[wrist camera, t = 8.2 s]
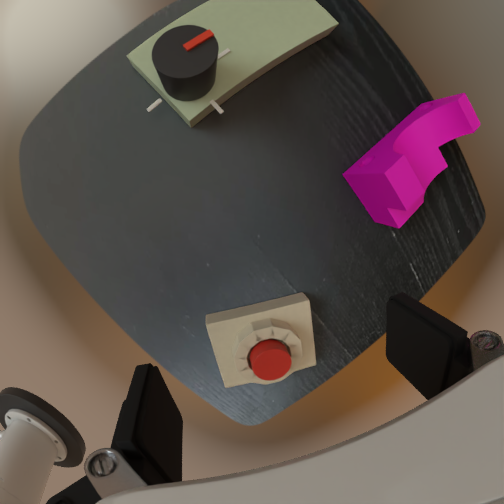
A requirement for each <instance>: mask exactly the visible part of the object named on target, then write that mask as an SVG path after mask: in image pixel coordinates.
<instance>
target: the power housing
mask: <svg viewBox="0 0 504 504" xmlns="http://www.w3.org/2000/svg"><path fill="white" fill-rule="evenodd" d="M206 327H207V330H208V334H209V337H210V340H211V344H212V347H213V350H214V354H215V357H216V360H217V363H218V366H219V370H220V373H221V376H222V379H223V382H224V385H225V388H228V387H233V386H237V385H242V384H246V383H251V382H253V383H259V384H270V383H274V382H278V381H281V380H283V379H285V378H286V377H287V376H289V375H290V374H291V373H293V372H294V371H297V370H300V369H304V368H307V367H310V366H314V365H316V356H315V346H314V336H313V327H312V318H311V309H310V300H309V299H308V298H307V297H306V296H305V294H304V293H303V292H301V293H297V294H293V295H289V296H285V297H281V298H277V299H273V300H269V301H265V302H260V303H256V304H252V305H248V306H243V307H239V308H235V309H230V310H226V311H221V312H217V313H212V314H207V315H206ZM265 340H277V341H279V342H281V343H283V344H284V345H285V347H286V349H287V351H288V353H289V355H290V357H291V360H292V364H291V367H290V369H289V371H288V372H287V373H286V374H285V375H284V376H283V377H281V378H279V379H276V380H271V381H267V380H262V379H260V378H258V377H257V376H256V375H255V374H254V372H253V369H252V366H251V362H250V353H251V351H252V349H253V348H254V347H255V346H256V345H257V344H258V343H260V342H262V341H265Z"/></svg>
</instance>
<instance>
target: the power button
mask: <svg viewBox="0 0 504 504" xmlns="http://www.w3.org/2000/svg"><path fill="white" fill-rule="evenodd" d="M250 362H251V366H252V369H253V372H254V374H255V375H256V376H257V377H258V378H260V379H262V380H267V381H271V380H276V379H279V378H281V377H283V376H284V375H285V374H286V373H287V372H288V371H289V369H290V367H291V364H292V360H291V357H290V355H289V353H288V351H287V349H286V347H285V345H284V344H283V343H281V342H279V341H277V340H265V341H262V342H260V343H258V344H257V345H256V346H255V347H254V348H253V349H252V351H251V353H250Z"/></svg>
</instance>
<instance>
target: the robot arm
mask: <svg viewBox="0 0 504 504" xmlns="http://www.w3.org/2000/svg"><path fill="white" fill-rule="evenodd" d="M467 333H468V332H467V331H466V330H464V329H462V328H461V327H459V326H458V325H456V324H455V323H453V322H451V321H450V320H448V319H447V318H445V317H443V316H442V315H440V314H438V313H437V312H435V311H433V310H432V309H430V308H428V307H426V306H425V305H423V304H422V303H420V302H418V301H417V300H415V299H413V298H412V297H410V296H408V295H407V294H405V293H399V294H396V295H394V296H391V297H390V299H389V301H388V302H387V330H386V357H387V359H388V361H389V362H390V363H391V364H392V365H393V366H394V367H395V368H396V369H397V370H398V371H399V372H400V373H401V374H402V375H403V376H404V377H405V378H406V379H407V380H408V381H409V382H410V383H411V384H412V385H413V386H414V387H415V388H416V389H417V390H418V391H419V392H420V393H421V394H422V395H423V396H424V397H425V398H426V399H427V400H428V401H426V402H424V403H423V404H421V405H419V406H417V407H416V408H414V409H412V410H410V411H408V412H407V413H405V414H403V415H401V416H399V417H397V418H395V419H393V420H391V421H389V422H387V423H385V424H383V425H381V426H379V427H376V428H374V429H372V430H370V431H368V432H365V433H363V434H361V435H358V436H356V437H354V438H351V439H349V440H346V441H344V442H341V443H339V444H336V445H334V446H331V447H328V448H326V449H323V450H320V451H317V452H314V453H311V454H308V455H305V456H301V457H298V458H295V459H291V460H288V461H285V462H281V463H277V464H274V465H270V466H266V467H262V468H258V469H253V470H248V471H244V472H239V473H234V474H228V475H223V476H217V477H211V478H205V479H197V480H189V481H182V430H183V420H182V416H181V414H180V412H179V410H178V408H177V406H176V404H175V402H174V400H173V398H172V396H171V394H170V392H169V390H168V388H167V386H166V384H165V382H164V380H163V378H162V375H161V373H160V371H159V369H158V367H157V366H154V367H153V365H152V364H150V363H149V364H144V365H138V366H137V367H136V368H135V372H134V375H133V378H132V381H131V385H130V388H129V391H128V395H127V398H126V400H125V401H124V402H123V404H122V407H121V411H120V414H119V418H118V421H117V425H116V429H115V432H114V436H113V440H112V444H111V448H103V449H99V450H96V451H94V452H93V453H92V454H90V455H89V456H88V458H87V459H86V461H85V464H84V470H85V473H86V476H84V477H83V478H81V479H80V480H78V481H77V482H75V483H74V484H72V485H70V486H69V487H67V488H66V489H64V490H63V491H61V492H59V493H58V494H56V495H54V496H53V497H51V498H50V499H49V500H48V501H47V503H46V504H504V344H503V341H502V339H501V337H500V336H499V335H498V334H497V333H495V332H492V331H488V330H487V331H486V330H483V331H478V332H476V333H474V334H473V335H472V336H471V338H470V339H469V338H467ZM5 422H6V425H7V428H6V430H3V431H0V440H1V441H0V504H40V501H41V498H42V495H43V492H44V489H45V486H46V483H47V480H48V477H49V475H50V472H51V469H52V467H53V464H54V461H55V462H59V461H63V460H64V459H65V458H66V456H67V448H66V445H65V444H64V442H63V440H62V439H61V438H60V436H59V435H58V434H57V433H56V432H55V431H54V430H53V429H52V428H51V427H49V426H48V425H47V424H46V423H45V422H43V421H42V420H40V419H39V418H37V417H36V416H34V415H32V414H30V413H28V412H26V411H23V410H20V409H10V410H9V411H8V412H7V413H6V415H5Z"/></svg>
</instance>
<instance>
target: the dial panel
mask: <svg viewBox="0 0 504 504" xmlns="http://www.w3.org/2000/svg"><path fill="white" fill-rule="evenodd" d="M338 24H339V23H338V22H337V21H336V20H335V19H334V18H333V17H332V16H331V15H330V14H329V13H328V12H327V11H326V10H325V9H324V8H323V7H322V6H321V5H320V4H319V3H318V2H316V1H315V0H209V1H208V2H206V3H204V4H202V5H200V6H199V7H197V8H195V9H193V10H192V11H190V12H188V13H187V14H185V15H183V16H182V17H180V18H179V19H177V20H175V21H174V22H172V23H171V24H169V25H168V26H166V27H165V28H163V29H162V30H160V31H159V32H157V33H156V34H155V35H153V36H152V37H150V38H149V39H148V40H146V41H145V42H144V43H142V44H141V45H140V46H138V47H137V48H136V49H134V50H133V51H132V52H131V53H129V54H128V55H127V57H128V59H129V61H130V62H131V64H132V65H133V67H134V68H135V69H136V70H137V71H138V72H139V73H140V74H141V75H142V77H143V78H144V79H145V80H146V81H147V82H148V83H149V84H150V85H151V86H152V87H153V88H154V89H155V90H156V91H157V92H158V93H159V94H160V95H161V96H162V97H163V98H164V99H165V101H166V102H167V103H168V104H169V105H170V106H171V107H172V108H173V109H174V110H175V111H176V112H177V113H178V114H179V115H180V117H181V118H182V119H183V120H184V121H185V122H186V123H187V124H188V125H189V126H190V127H191V128H192V127H193V126H195V125H196V124H197V123H198V122H199V121H201V120H202V119H203V118H204V117H206V116H207V115H208V114H209V113H211V112H212V111H213V110H214V109H216V110H217V111H218V112H219V113H220V114H221V113H223V112H224V111H223V110H222V109H221V107H220V105H221V104H222V103H224V102H225V101H226V100H227V99H229V98H230V97H232V96H233V95H234V94H236V93H237V92H238V91H240V90H241V89H242V88H244V87H245V86H247V85H248V84H250V83H251V82H252V81H254V80H255V79H257V78H258V77H260V76H261V75H263V74H264V73H266V72H267V71H269V70H270V69H272V68H273V67H275V66H276V65H278V64H280V63H281V62H283V61H284V60H286V59H287V58H289V57H291V56H292V55H294V54H296V53H297V52H299V51H301V50H302V49H304V48H306V47H308V46H309V45H311V44H313V43H315V42H316V41H318V40H320V39H322V38H324V37H326V36H327V35H329V33H330V32H331V31H332V30H333V29H334V28H335V27H336V26H337V25H338ZM182 25H196V26H200V27H203V28H205V29H207V30H209V29H210V30H211V31H212V32H213V33H214V36H215V38H216V39H217V42H218V46H219V51H218V60H217V68H216V78H215V83H214V85H213V87H212V89H211V90H210V91H209V92H208V93H207V94H206V95H205V96H203V97H202V98H199V99H197V100H193V101H180V100H176V99H174V98H172V97H171V96H169V95H168V94H167V93H166V91H165V89H164V87H163V85H162V83H161V80H160V78H159V76H158V74H157V71H156V69H155V67H154V64H153V61H152V49H153V46H154V44H155V42H156V41H157V39H158V38H159V37H160V36H161V35H162V34H163V33H165V32H166V31H168V30H170V29H172V28H174V27H177V26H182ZM161 102H162V100H161V99H160V98H159V99H158V100H157V101H155V102H154V103H153V104H152V105H151V106H150V107H148V108H147V110H148V111H149V112H150V111H152V110H153V109H154V108H155V107H156V106H157V105H159V104H160V103H161Z"/></svg>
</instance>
